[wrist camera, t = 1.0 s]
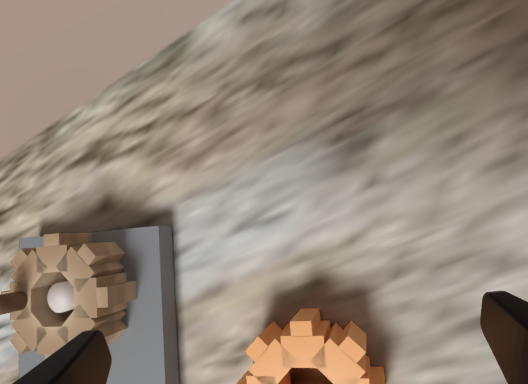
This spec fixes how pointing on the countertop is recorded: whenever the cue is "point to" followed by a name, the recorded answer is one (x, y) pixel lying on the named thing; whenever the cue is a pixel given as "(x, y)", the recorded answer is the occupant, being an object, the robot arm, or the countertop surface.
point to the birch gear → (85, 292)
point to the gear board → (132, 307)
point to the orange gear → (311, 352)
